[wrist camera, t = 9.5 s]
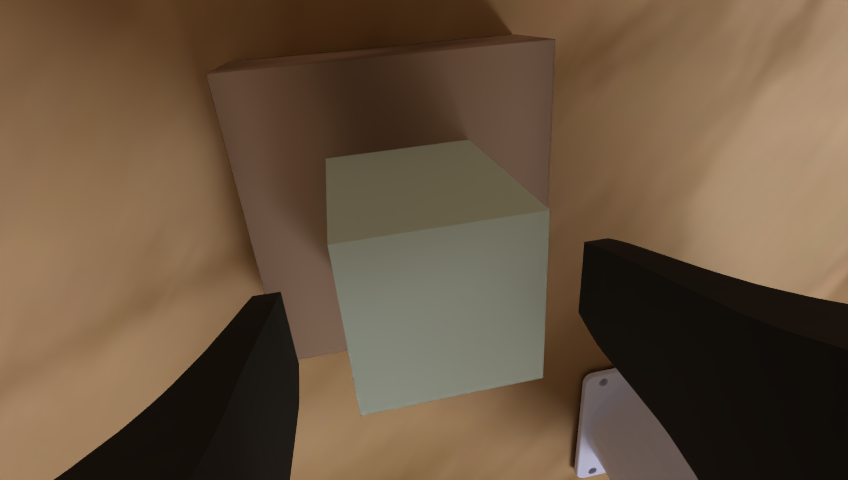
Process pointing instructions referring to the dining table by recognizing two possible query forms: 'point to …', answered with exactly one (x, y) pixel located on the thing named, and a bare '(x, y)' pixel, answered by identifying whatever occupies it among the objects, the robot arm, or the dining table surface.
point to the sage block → (436, 273)
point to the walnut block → (367, 142)
